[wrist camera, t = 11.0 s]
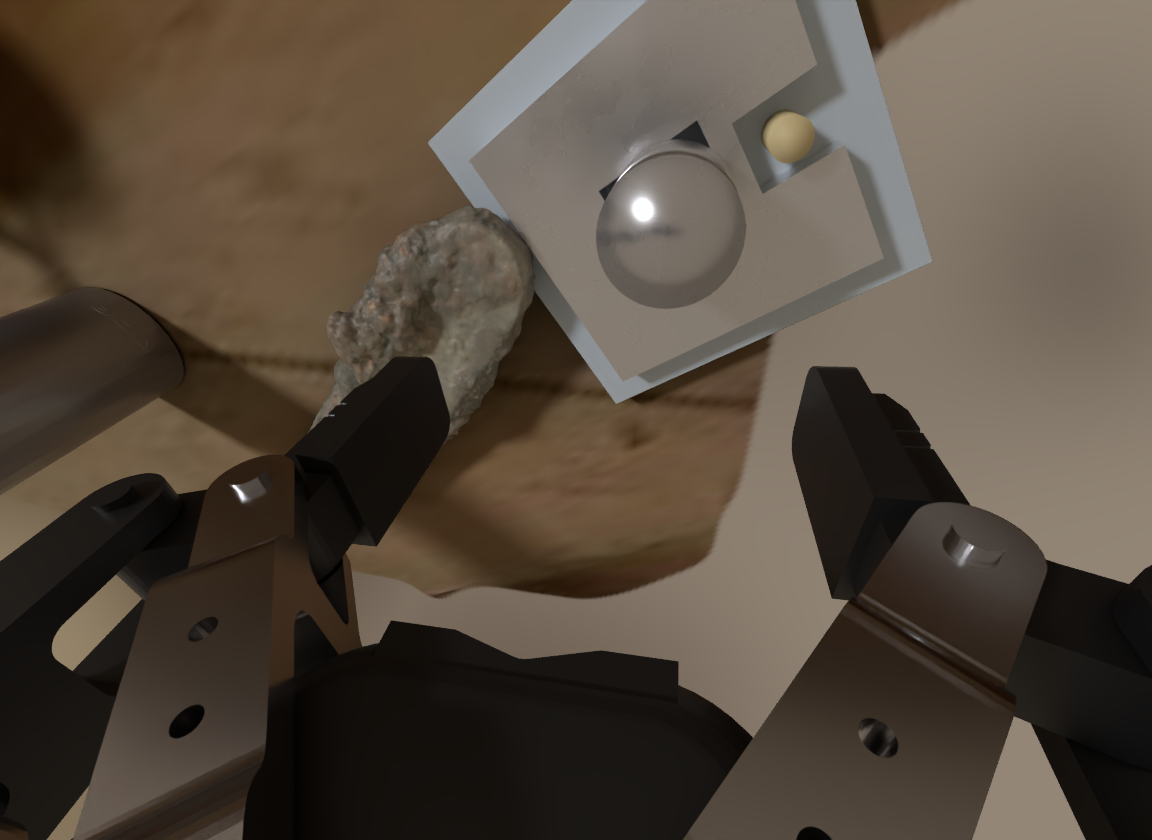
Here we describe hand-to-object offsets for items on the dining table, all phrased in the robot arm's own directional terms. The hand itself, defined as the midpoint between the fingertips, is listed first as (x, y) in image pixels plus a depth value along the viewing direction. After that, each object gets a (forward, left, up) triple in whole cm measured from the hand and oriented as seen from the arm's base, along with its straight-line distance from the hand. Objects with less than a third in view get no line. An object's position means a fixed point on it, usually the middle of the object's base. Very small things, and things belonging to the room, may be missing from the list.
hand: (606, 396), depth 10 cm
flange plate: (+1, 0, -17) cm, 17 cm away
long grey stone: (-23, -1, -18) cm, 29 cm away
